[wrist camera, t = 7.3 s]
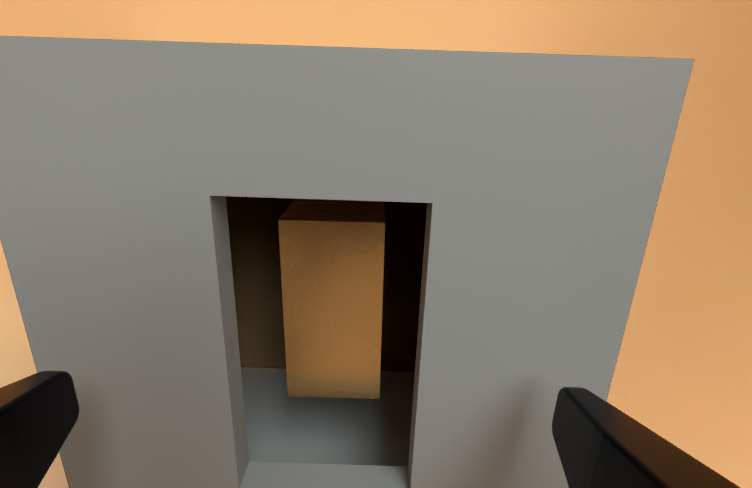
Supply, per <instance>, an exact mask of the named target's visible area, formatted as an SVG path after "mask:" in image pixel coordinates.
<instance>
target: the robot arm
mask: <svg viewBox="0 0 752 488" xmlns="http://www.w3.org/2000/svg"><path fill="white" fill-rule="evenodd" d="M78 416H79V403H78V399H77V395H76V391H75V387H74V383H73V379H72V376H71V375H70V374H69V373H68V372H66V371H41V372H38V373H36V374H33V375H31V376H29V377H26V378H24V379H21V380H19V381H16V382H14V383H11V384H9V385H7V386H4V387H2V388H0V488H38V486H39V484H40V483H41V481H42V479H43V478H44V476H45V474H46V473H47V471H48V469H49V467H50V466H51V464H52V462H53V461H54V459H55V457H56V456H57V454H58V452H59V451H60V449H61V447H62V445H63V444H64V442H65V440H66V439H67V437H68V435H69V434H70V432H71V430H72V429H73V427H74V425H75V423H76V421H77V419H78ZM552 434H553V438H554V441H555V444H556V448H557V451H558V454H559V457H560V461H561V464H562V467H563V470H564V474H565V477H566V480H567V483H568V487H569V488H740V487H739V486H737V485H736V484H734V483H732V482H731V481H729V480H728V479H726V478H725V477H723V476H721V475H720V474H718V473H717V472H715V471H714V470H712V469H711V468H709V467H707V466H706V465H704V464H703V463H701V462H700V461H698V460H697V459H695V458H693V457H692V456H690V455H689V454H687V453H686V452H684V451H683V450H681V449H679V448H678V447H676V446H675V445H673V444H672V443H670V442H668V441H667V440H665V439H664V438H662V437H661V436H659V435H658V434H656V433H654V432H653V431H651V430H650V429H648V428H647V427H645V426H644V425H642V424H640V423H639V422H637V421H636V420H634V419H633V418H631V417H629V416H628V415H626V414H625V413H623V412H622V411H620V410H619V409H617V408H615V407H614V406H612V405H611V404H609V403H608V402H606V401H605V400H603V399H601V398H600V397H598V396H597V395H595V394H594V393H592V392H591V391H589V390H587V389H586V388H582V387H563V388H561V389H560V390H559V392H558V396H557V401H556V405H555V410H554V415H553V420H552Z"/></svg>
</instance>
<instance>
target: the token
mask: <svg viewBox="0 0 752 488" xmlns="http://www.w3.org/2000/svg"><path fill="white" fill-rule="evenodd" d="M278 226H279V244H280V263H281V281H282V300H283V318H284V336H285V355H286V373H287V392H288V397H325V398H363V399H379V398H380V367H381V336H382V305H383V274H384V242H385V207H384V201H356V200H326V199H295V200H294V201H293V203H292V204H291V205H290V206H289V207H288V209H287V210H286V211H285V212H284V214H283V215H282V216H281V217H280V218H279V220H278Z"/></svg>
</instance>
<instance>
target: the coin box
mask: <svg viewBox="0 0 752 488" xmlns="http://www.w3.org/2000/svg"><path fill="white" fill-rule="evenodd" d="M693 62H694V59H683V58H653V57H623V56H593V55H563V54H533V53H503V52H473V51H443V50H413V49H382V48H352V47H322V46H292V45H262V44H232V43H202V42H172V41H142V40H112V39H82V38H52V37H22V36H0V239H1V243H2V246H3V250H4V254H5V257H6V261H7V265H8V268H9V272H10V275H11V279H12V283H13V286H14V290H15V294H16V297H17V301H18V304H19V308H20V312H21V315H22V319H23V323H24V326H25V330H26V333H27V337H28V341H29V344H30V348H31V352H32V355H33V359H34V362H35V366H36V370H37V373H38V372H41V371H66V372H68V373H69V374H70V375H71V376H72V379H73V383H74V387H75V391H76V395H77V399H78V403H79V416H78V419H77V421H76V423H75V425H74V427H73V429H72V430H71V432H70V434H69V435H68V437H67V439H66V440H65V442H64V444H63V445H62V447H61V449H60V451H59V453H60V457H61V460H62V464H63V467H64V471H65V475H66V478H67V482H68V486H69V488H569V487H568V483H567V480H566V477H565V474H564V470H563V467H562V464H561V461H560V457H559V454H558V451H557V448H556V444H555V441H554V438H553V434H552V420H553V415H554V410H555V405H556V401H557V396H558V392H559V390H560V389H561V388H563V387H582V388H586V389H587V390H589V391H591V392H592V393H594V394H595V395H597V396H598V397H600V398H601V399H603V400H605V401H607V397H608V393H609V389H610V385H611V381H612V377H613V373H614V370H615V366H616V362H617V358H618V354H619V350H620V346H621V342H622V338H623V335H624V331H625V327H626V323H627V319H628V315H629V311H630V307H631V303H632V299H633V296H634V292H635V288H636V284H637V280H638V276H639V272H640V268H641V264H642V261H643V257H644V253H645V249H646V245H647V241H648V237H649V233H650V229H651V226H652V222H653V218H654V214H655V210H656V206H657V202H658V198H659V194H660V190H661V187H662V183H663V179H664V175H665V171H666V167H667V163H668V159H669V155H670V152H671V148H672V144H673V140H674V136H675V132H676V128H677V124H678V120H679V117H680V113H681V109H682V105H683V101H684V97H685V93H686V89H687V85H688V81H689V78H690V74H691V70H692V66H693ZM226 196H235V197H265V198H295V199H326V200H356V201H387V202H417V203H427V213H426V227H425V240H424V254H423V268H422V282H421V295H420V309H419V323H418V336H417V350H416V364H415V373H412V372H381V371H380V398H379V399H363V398H325V397H288V392H287V373H286V368H258V367H241V363H240V352H239V340H238V329H237V317H236V306H235V295H234V283H233V272H232V260H231V249H230V237H229V226H228V215H227V203H226Z"/></svg>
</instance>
